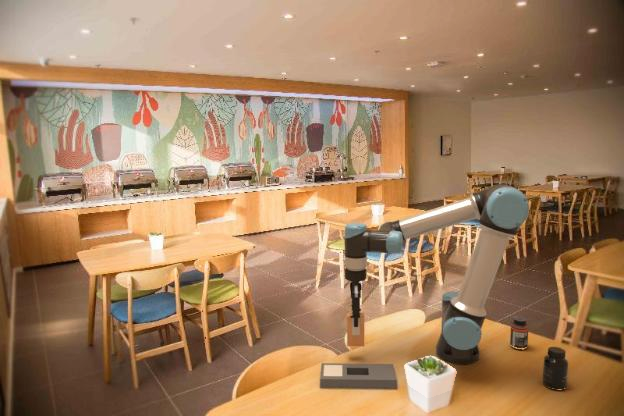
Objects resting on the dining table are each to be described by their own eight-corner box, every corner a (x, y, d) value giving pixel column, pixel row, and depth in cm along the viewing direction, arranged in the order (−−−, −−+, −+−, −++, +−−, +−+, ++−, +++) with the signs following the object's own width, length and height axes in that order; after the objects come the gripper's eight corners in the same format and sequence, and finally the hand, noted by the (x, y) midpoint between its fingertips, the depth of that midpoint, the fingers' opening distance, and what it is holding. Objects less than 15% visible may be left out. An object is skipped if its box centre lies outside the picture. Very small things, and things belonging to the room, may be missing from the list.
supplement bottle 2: (570, 392, 136) (572, 356, 135) (546, 390, 138) (548, 354, 136) (562, 380, 143) (564, 345, 141) (539, 378, 144) (541, 344, 143)
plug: (363, 341, 159) (363, 312, 157) (364, 346, 155) (364, 316, 154) (347, 341, 159) (346, 312, 158) (347, 346, 156) (347, 316, 154)
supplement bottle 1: (511, 342, 170) (513, 314, 168) (528, 346, 167) (530, 317, 165) (508, 348, 165) (509, 319, 164) (525, 352, 162) (527, 323, 160)
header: (393, 375, 149) (393, 363, 148) (396, 391, 139) (397, 379, 138) (321, 374, 150) (321, 362, 150) (320, 390, 140) (320, 378, 140)
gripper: (344, 261, 161) (344, 322, 165) (344, 275, 145) (345, 342, 149) (365, 261, 161) (365, 322, 165) (368, 275, 145) (367, 342, 148)
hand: (355, 331), depth 157 cm, fingers closed on plug, 3 cm apart
